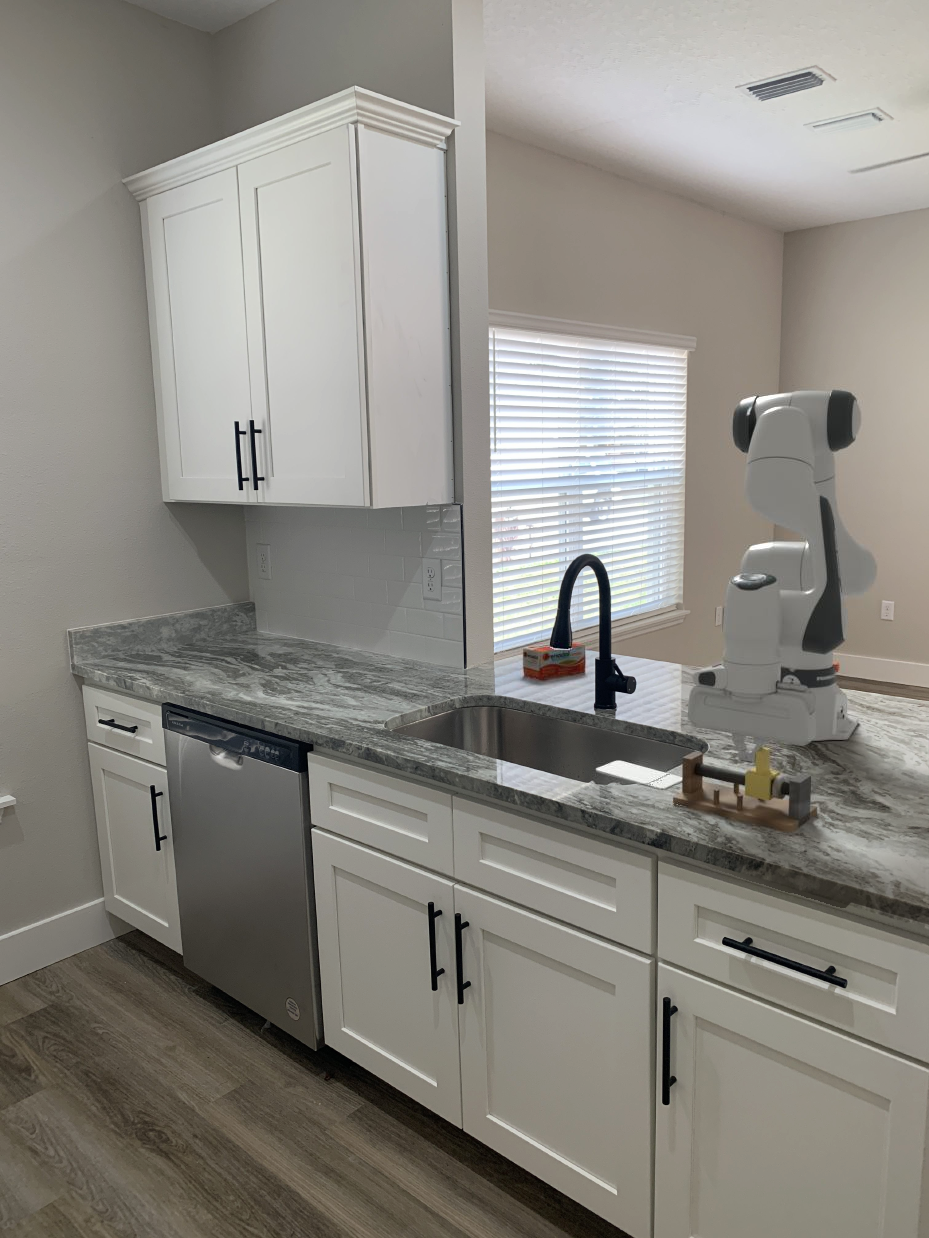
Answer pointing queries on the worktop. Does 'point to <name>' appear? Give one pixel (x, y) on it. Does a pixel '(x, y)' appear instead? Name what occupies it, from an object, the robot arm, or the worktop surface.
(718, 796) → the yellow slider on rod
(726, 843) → the worktop surface
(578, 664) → the medicine box
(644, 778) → the smartphone
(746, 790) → the sleeve
